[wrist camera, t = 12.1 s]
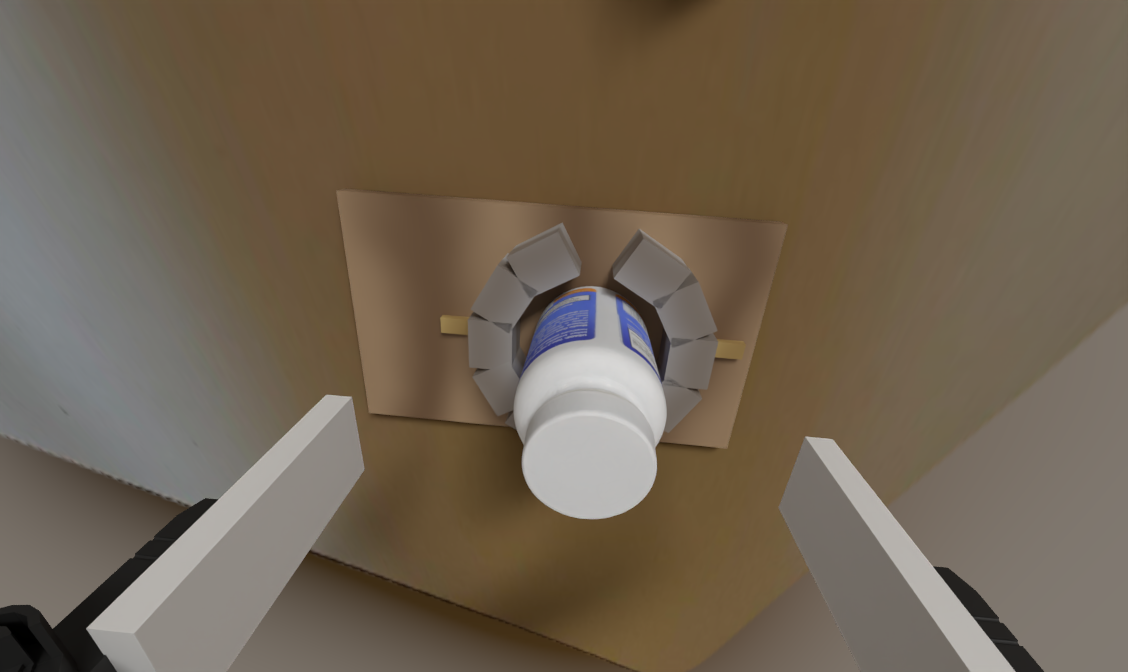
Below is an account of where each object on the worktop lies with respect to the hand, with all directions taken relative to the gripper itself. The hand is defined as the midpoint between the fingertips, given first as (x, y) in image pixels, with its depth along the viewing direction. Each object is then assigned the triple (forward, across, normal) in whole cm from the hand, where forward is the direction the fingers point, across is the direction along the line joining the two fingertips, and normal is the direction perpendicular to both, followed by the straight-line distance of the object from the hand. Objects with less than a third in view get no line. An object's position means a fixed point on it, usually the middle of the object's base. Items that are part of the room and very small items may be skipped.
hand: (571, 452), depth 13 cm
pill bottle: (+10, +1, 0) cm, 10 cm away
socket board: (+10, -2, 0) cm, 10 cm away
